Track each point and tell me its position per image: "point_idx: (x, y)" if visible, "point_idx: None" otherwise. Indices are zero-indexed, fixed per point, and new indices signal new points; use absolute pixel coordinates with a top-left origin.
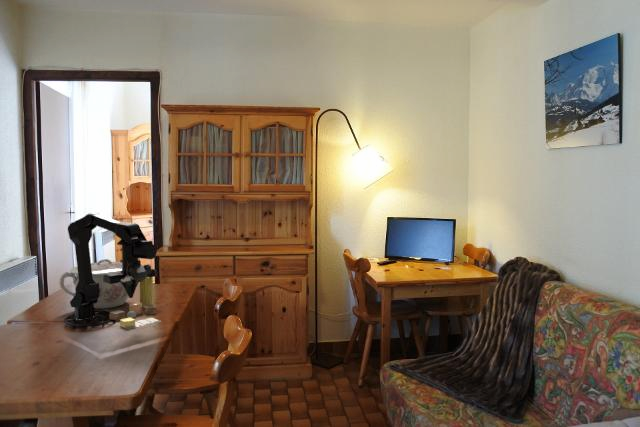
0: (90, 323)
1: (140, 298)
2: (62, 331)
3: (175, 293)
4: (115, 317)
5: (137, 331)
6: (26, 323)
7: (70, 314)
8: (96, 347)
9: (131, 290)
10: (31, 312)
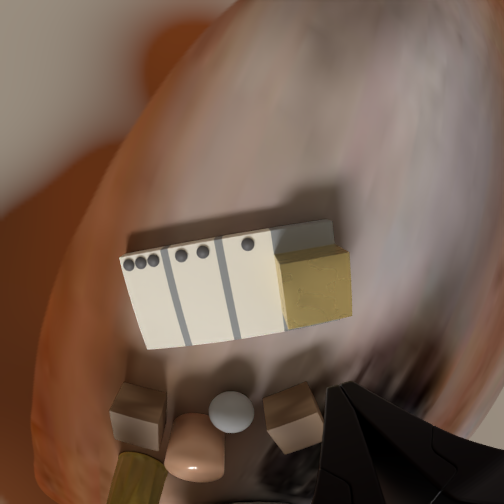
0: None
1: (158, 499)
2: (457, 369)
3: (65, 485)
4: (315, 404)
5: (276, 204)
6: None
7: None
8: (461, 124)
9: (390, 438)
10: None
